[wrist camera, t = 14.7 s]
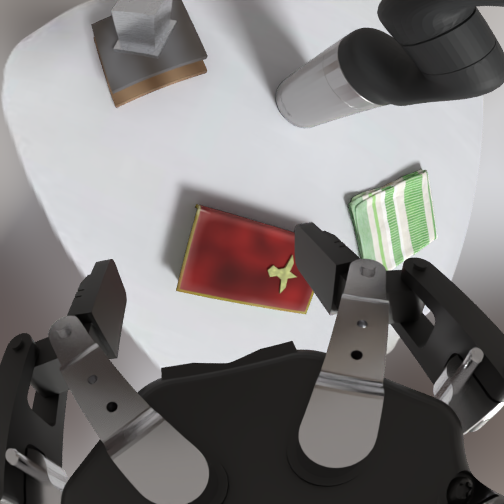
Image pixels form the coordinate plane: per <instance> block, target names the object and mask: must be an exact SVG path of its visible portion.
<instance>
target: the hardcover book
mask: <svg viewBox="0 0 504 504" xmlns="http://www.w3.org/2000/svg"><path fill="white" fill-rule="evenodd" d="M195 208H197V212H196V215H195V219H194V222H193V226H192V230H191V233H190V237H189V241H188V244H187V248H186V252H185V256H184V260H183V264H182V268H181V272H180V276H179V280H178V284H177V288H176V291H179V292H184V293H189V294H194V295H198V296H203V297H208V298H214V299H219V300H224V301H229V302H235V303H240V304H246V305H251V306H257V307H263V308H269V309H275V310H282V311H288V312H294V313H301V314H306V313H307V310H308V307H309V305H310V302H311V299H312V297H313V294H314V291H313V290H312V289H311V287H310V286H309V284H308V283H307V281H306V280H305V279H304V277H303V276H302V274H301V273H300V271H299V270H298V268H297V266H296V262H295V233H294V232H291V231H288V230H284V229H281V228H278V227H275V226H271V225H268V224H264V223H261V222H258V221H254V220H251V219H247V218H244V217H241V216H237V215H234V214H230V213H227V212H223V211H220V210H216V209H212V208H209V207H205V206H202V205H198V204H196V206H195Z"/></svg>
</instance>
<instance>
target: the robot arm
mask: <svg viewBox="0 0 504 504" xmlns="http://www.w3.org/2000/svg"><path fill="white" fill-rule="evenodd" d="M476 6H502V7H504V0H382V1H381V2H380V4H379V6H378V11H377V14H378V17H379V20H380V21H381V23H382V24H383V26H384V27H385V28H386V29H387V31H388V32H389V33H390V34H391V35H392V37H391V36H390V35H388V34H386V33H384V32H382V31H380V30H377V29H373V28H361V29H357V30H355V31H353V32H351V33H350V34H348V35H347V36H345V37H344V38H342V39H341V40H339V41H338V42H336V43H335V44H333V45H332V46H330V47H329V48H327V49H326V50H324V51H323V52H322V53H320V54H319V55H317V56H316V57H315V58H313V59H312V60H310V61H309V62H308V63H306V64H305V65H304V66H302V67H301V68H300V69H298V70H297V71H296V72H294V73H293V74H292V75H290V76H289V77H288V78H287V79H285V80H284V81H283V82H282V83H281V84H280V85H279V87H278V89H277V93H276V102H277V106H278V108H279V110H280V112H281V114H282V115H283V116H284V118H285V119H287V120H288V121H289V122H290V123H292V124H293V125H296V126H298V127H302V128H311V127H314V126H317V125H320V124H323V123H327V122H330V121H333V120H336V119H339V118H343V117H346V116H349V115H353V114H356V113H359V112H363V111H367V110H370V109H373V108H377V107H381V106H385V105H389V104H393V105H397V106H406V105H412V104H419V103H427V102H438V101H450V100H460V99H467V98H473V97H477V96H481V95H484V94H487V93H489V92H492V91H493V90H495V89H497V88H498V87H500V86H501V85H502V84H503V83H504V52H503V50H502V48H501V46H500V44H499V43H498V41H497V39H496V37H495V35H494V34H493V32H492V31H491V29H490V28H489V26H488V24H487V22H486V21H485V19H484V18H483V16H482V15H481V13H480V12H479V10H478V9H477V8H476ZM295 262H296V266H297V268H298V270H299V271H300V273H301V274H302V276H303V277H304V279H305V280H306V281H307V283H308V284H309V286H310V287H311V289H312V290H313V291H314V293H315V294H316V296H317V297H318V299H319V300H320V301H321V303H322V304H323V306H324V307H325V309H326V310H327V312H328V313H329V315H334V314H337V317H336V321H335V324H334V328H333V332H332V335H331V339H330V342H329V346H328V349H327V353H324V352H319V351H314V350H297V349H296V347H295V345H294V343H293V341H290V342H286V343H282V344H279V345H275V346H271V347H267V348H263V349H260V350H257V351H255V352H253V353H251V354H249V355H247V356H244V357H242V358H240V359H238V360H235V361H233V362H231V363H190V364H184V365H177V366H171V367H164V368H161V372H162V378H160V379H158V380H156V381H154V382H152V383H150V384H148V385H147V386H145V387H144V388H143V389H141V390H140V391H139V392H138V393H137V392H136V391H135V390H134V389H133V387H132V386H131V385H130V384H129V383H128V382H127V380H126V379H125V378H124V377H123V376H122V375H121V373H120V372H119V371H118V370H117V369H116V367H115V366H114V365H113V364H112V362H111V361H110V360H109V359H114V358H117V357H118V350H119V342H120V336H121V330H122V324H123V318H124V313H125V307H126V301H127V299H126V292H125V289H124V286H123V283H122V281H121V278H120V275H119V273H118V270H117V267H116V264H115V262H114V260H113V259H109V260H104V261H99V262H96V263H95V266H94V268H93V270H92V272H91V275H88V276H87V277H86V278H85V279H84V280H83V281H82V282H81V284H80V286H79V288H78V292H77V293H76V295H75V298H74V300H73V302H72V305H71V307H70V310H69V312H68V315H67V316H65V317H63V318H60V319H59V320H57V321H56V322H55V323H54V324H53V325H52V326H51V328H50V330H49V333H48V337H47V338H45V339H42V340H39V341H37V342H34V340H33V339H32V337H31V336H30V335H29V334H27V333H22V334H19V335H17V336H16V337H14V338H13V339H12V340H11V341H10V343H9V344H8V346H7V348H6V351H5V353H4V356H3V359H2V362H1V364H0V504H504V496H503V495H501V494H499V493H497V492H495V491H493V490H491V489H489V488H488V487H486V486H485V485H483V484H482V483H481V482H479V481H478V480H477V479H476V478H475V477H474V476H473V475H472V473H471V471H470V469H469V466H468V463H467V459H466V455H465V449H464V439H463V435H464V434H466V433H467V432H468V431H469V432H473V431H476V430H478V429H480V428H481V427H482V426H483V425H484V424H485V423H486V422H487V421H489V420H490V419H491V418H492V417H493V416H494V415H495V414H496V413H497V412H498V411H499V410H500V409H501V408H502V407H503V406H504V334H503V333H502V332H501V331H500V330H499V328H498V327H497V326H496V325H495V324H494V323H493V322H492V321H491V320H490V319H489V318H488V317H487V316H486V315H485V314H484V313H483V312H482V311H481V310H480V309H479V308H478V307H477V305H475V304H474V303H473V302H472V301H471V300H470V299H469V298H468V297H467V296H466V295H465V294H464V293H463V292H462V291H461V290H460V289H459V288H458V287H457V286H456V285H455V284H454V283H453V282H451V281H450V280H449V279H448V278H447V277H446V276H445V275H444V274H443V273H441V272H440V271H439V270H438V269H437V268H436V267H435V266H433V265H432V264H431V263H430V262H428V261H426V260H424V259H421V258H408V259H406V260H405V261H404V264H403V268H402V270H386V269H385V267H384V266H383V265H382V264H381V263H379V262H378V261H375V260H372V259H360V258H359V257H358V256H357V255H356V254H355V253H354V252H353V251H351V250H350V249H349V248H348V247H347V246H346V245H345V244H344V243H343V242H341V241H340V240H339V239H338V238H337V237H336V236H335V235H333V234H331V233H329V232H326V231H322V230H321V229H319V228H318V227H317V226H316V225H315V224H314V223H313V222H311V223H305V224H299V225H296V226H295ZM425 305H426V306H427V307H428V308H429V309H430V310H431V311H432V312H433V314H434V317H435V326H433V325H432V323H431V322H430V321H429V320H428V319H427V318H426V316H425V315H424V314H423V313H422V311H423V308H424V306H425ZM388 324H391V325H392V327H393V328H394V329H395V331H396V332H397V333H398V335H399V336H400V337H401V339H402V340H403V341H404V343H405V344H406V346H407V347H408V348H409V350H410V351H411V353H412V354H413V355H414V357H415V358H416V360H417V361H418V363H419V364H420V365H421V367H422V368H423V370H424V371H425V373H426V374H427V375H428V377H429V378H430V380H431V381H432V383H433V384H434V390H433V391H434V396H435V397H432V396H429V395H426V394H424V393H421V392H418V391H416V390H413V389H411V388H408V387H406V386H403V385H401V384H398V383H396V382H393V381H390V380H388V379H386V378H384V370H385V361H386V351H387V338H388ZM30 385H31V386H33V388H34V389H35V390H36V393H35V398H34V403H33V408H32V409H31V408H30V406H29V404H28V400H27V395H28V390H29V386H30ZM68 390H70V391H71V393H72V394H73V396H74V398H75V400H76V402H77V403H78V405H79V407H80V408H81V410H82V412H83V413H84V415H85V417H86V418H87V420H88V421H89V423H90V424H91V426H92V427H93V429H94V431H95V432H96V433H97V435H98V436H99V438H100V440H99V442H98V443H97V444H96V445H95V447H94V448H93V449H92V450H91V452H90V453H89V454H88V456H87V457H86V458H85V459H84V461H83V462H82V463H81V464H80V466H79V467H78V468H77V470H76V471H75V472H74V473H73V475H72V476H71V477H70V479H69V480H68V478H67V475H66V473H65V471H64V470H63V468H62V446H63V429H64V417H65V408H66V400H67V392H68Z"/></svg>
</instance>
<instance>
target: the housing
mask: <svg viewBox="0 0 504 504" xmlns="http://www.w3.org/2000/svg"><path fill="white" fill-rule="evenodd" d="M171 8H172V0H118V1H117V3H116V4H115V6H114V7H113V8H112V10H111V12H112V16H113V20H114V24H115V28H116V32H117V35H118V41H117V43H116V45H115V47H114V48H113V49H114V51H116V52H123V53H130V54H136V55H141V56H147V57H152V58H157V59H158V58H159V56H160V54H161V52H162V50H163V48H164V46H165V44H166V42H167V40H168V38H169V36H170V35H171V33H172V31H173V29H174V27H175V26H176V24H177V21H175V20H170V18H171Z"/></svg>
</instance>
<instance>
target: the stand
mask: <svg viewBox="0 0 504 504" xmlns="http://www.w3.org/2000/svg"><path fill="white" fill-rule="evenodd" d="M170 20H175V21H177V24H176V26H175V27H174V29H173V31H172V33H171V35H170V36H169V38H168V40H167V42H166V44H165V46H164V48H163V50H162V52H161V54H160V56H159V58H158V59H157V58H152V57H147V56H141V55H136V54H130V53H123V52H116V51H114V49H113V48H114V47H115V45H116V43H117V41H118V35H117V32H116V28H115V24H114V20H113V16H110V17H107V18H105V19H103V20H100V21H98V22H96V23H94V24H92V29H93V32H94V36H95V37H94V41H95V45H96V48H97V51H98V55H99V58H100V61H101V65H102V68H103V71H104V74H105V77H106V80H107V84H108V87H109V90H110V92H111V95H112V98H113V101H114V104H115V107H116V108H117V107H119V106H121V105H124V104H126V103H128V102H130V101H132V100H135V99H137V98H139V97H141V96H144V95H146V94H148V93H151V92H153V91H156V90H158V89H161V88H163V87H166V86H169V85H171V84H174V83H177V82H180V81H183V80H186V79H189V78H192V77H195V76H198V75H201V74H204V73H206V72H207V69H206V66H205V64H204V62H203V60H204V59H206V58H207V54H206V51H205V49H204V47H203V45H202V43H201V40H200V38H199V36H198V34H197V32H196V30H195V27H194V25H193V23H192V21H191V19H190V17H189V15H188V13H187V10H186V8H185V6H184V4H183V2H182V0H172V8H171V18H170Z"/></svg>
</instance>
